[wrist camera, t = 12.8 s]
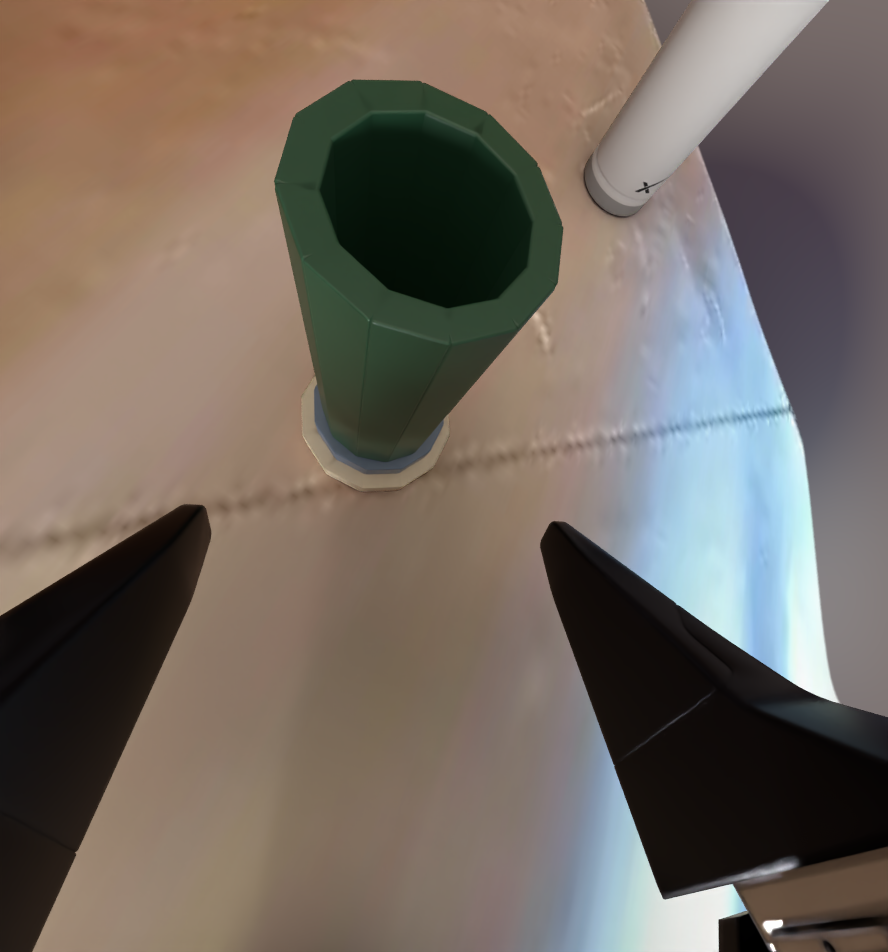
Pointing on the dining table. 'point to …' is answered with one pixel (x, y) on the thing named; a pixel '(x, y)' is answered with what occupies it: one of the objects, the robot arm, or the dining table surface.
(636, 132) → the travel mug
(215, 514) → the dining table surface
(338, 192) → the green pencil cup
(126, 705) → the robot arm
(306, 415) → the ring stack
